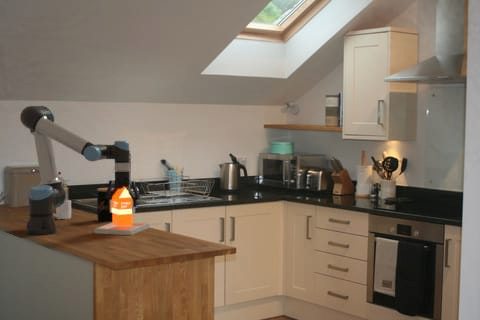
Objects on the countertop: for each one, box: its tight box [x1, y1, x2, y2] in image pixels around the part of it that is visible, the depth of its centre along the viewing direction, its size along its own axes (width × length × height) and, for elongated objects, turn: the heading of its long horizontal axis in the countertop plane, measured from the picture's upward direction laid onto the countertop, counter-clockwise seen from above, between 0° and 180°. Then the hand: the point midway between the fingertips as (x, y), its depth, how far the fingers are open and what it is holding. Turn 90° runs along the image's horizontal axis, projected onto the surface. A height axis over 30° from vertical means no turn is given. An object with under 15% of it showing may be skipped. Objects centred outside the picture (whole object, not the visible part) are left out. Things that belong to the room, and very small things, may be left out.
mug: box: [53, 199, 72, 220], centre depth 397 cm, size 12×8×10 cm
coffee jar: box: [96, 187, 115, 222], centre depth 392 cm, size 11×11×18 cm
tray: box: [94, 221, 150, 236], centre depth 360 cm, size 24×20×2 cm
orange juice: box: [112, 187, 134, 226], centre depth 359 cm, size 8×9×20 cm
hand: (122, 212), depth 359 cm, fingers closed on orange juice, 11 cm apart
